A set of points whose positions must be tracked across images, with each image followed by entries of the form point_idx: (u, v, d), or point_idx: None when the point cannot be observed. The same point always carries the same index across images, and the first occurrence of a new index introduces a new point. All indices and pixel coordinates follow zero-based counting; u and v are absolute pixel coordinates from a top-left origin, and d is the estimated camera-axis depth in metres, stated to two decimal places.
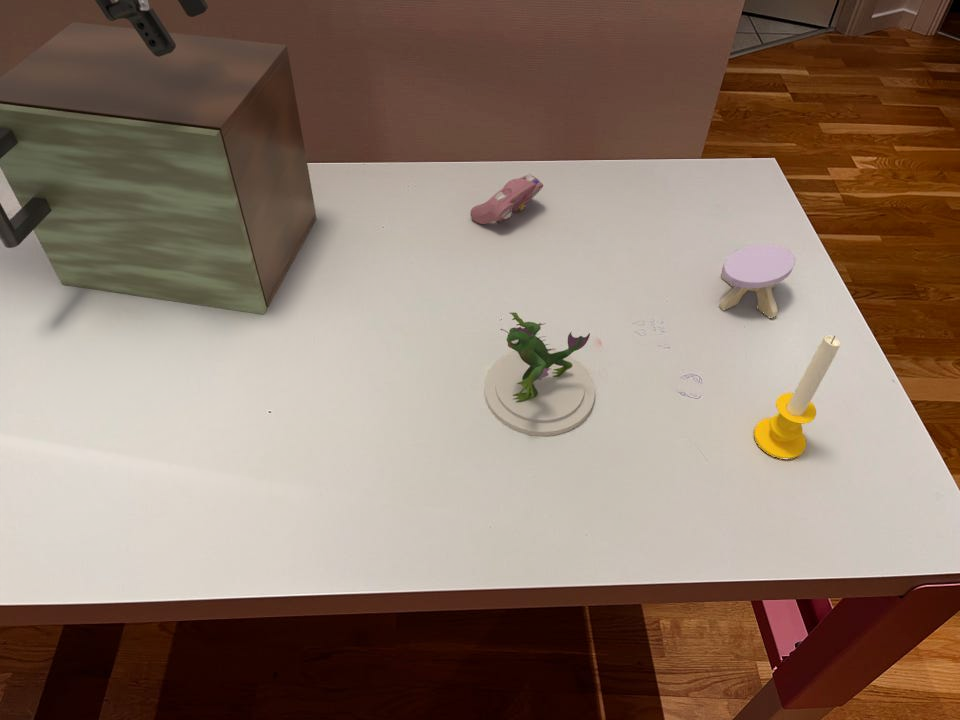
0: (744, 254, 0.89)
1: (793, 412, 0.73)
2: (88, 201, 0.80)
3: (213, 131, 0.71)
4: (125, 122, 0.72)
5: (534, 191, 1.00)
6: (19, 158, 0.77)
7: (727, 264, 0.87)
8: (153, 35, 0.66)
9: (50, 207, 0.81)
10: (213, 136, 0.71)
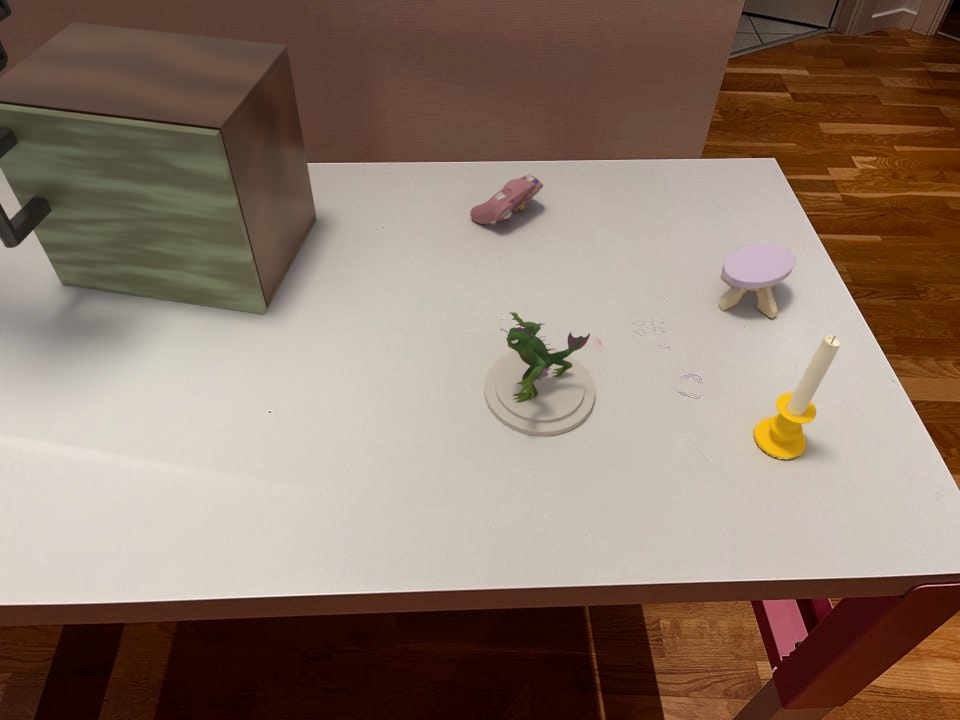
0: (744, 254, 0.89)
1: (793, 412, 0.73)
2: (88, 201, 0.80)
3: (213, 131, 0.71)
4: (125, 122, 0.72)
5: (534, 191, 1.00)
6: (19, 158, 0.77)
7: (727, 264, 0.87)
8: (1, 47, 0.63)
9: (50, 207, 0.81)
10: (213, 136, 0.71)
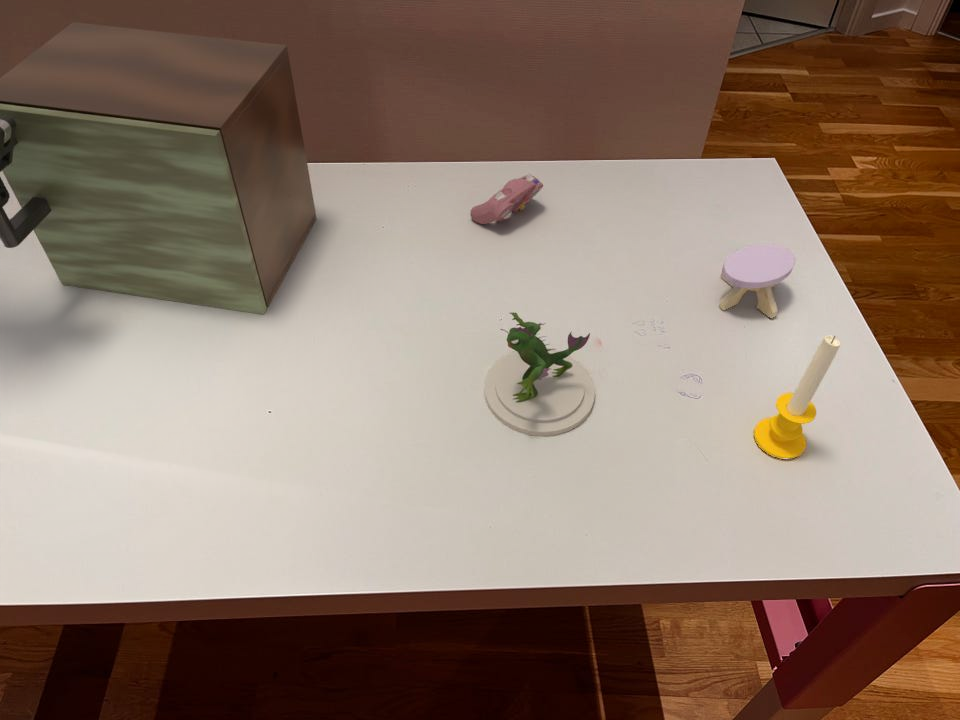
0: (744, 254, 0.89)
1: (793, 412, 0.73)
2: (88, 201, 0.80)
3: (213, 131, 0.71)
4: (125, 122, 0.72)
5: (534, 191, 1.00)
6: (19, 158, 0.77)
7: (727, 264, 0.87)
8: (3, 187, 0.73)
9: (50, 207, 0.81)
10: (213, 136, 0.71)
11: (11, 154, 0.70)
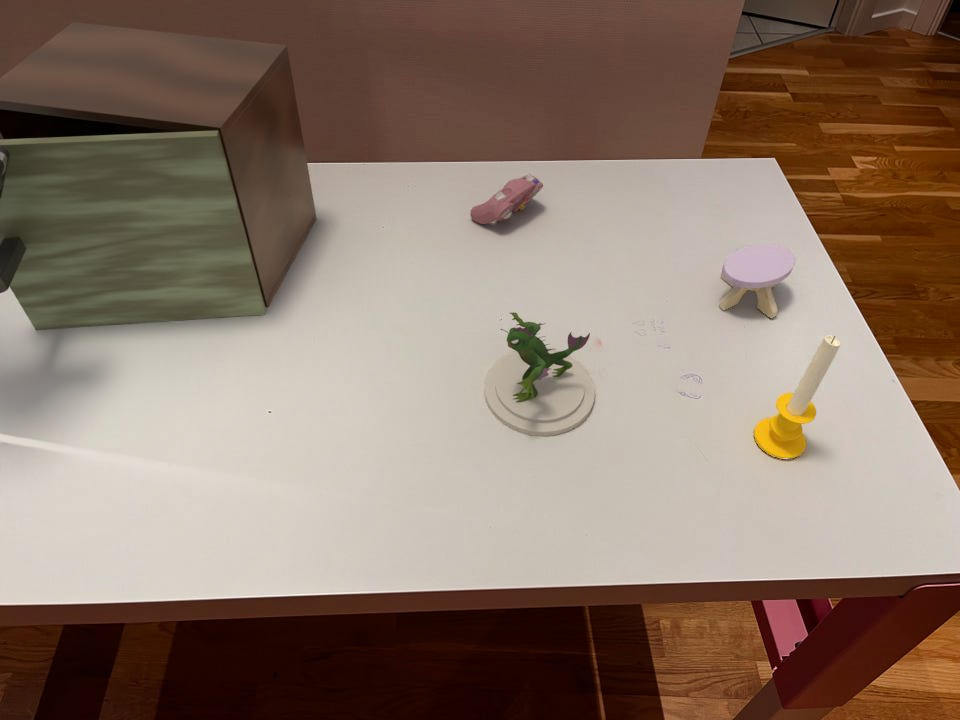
0: (744, 254, 0.89)
1: (793, 412, 0.73)
2: (70, 231, 0.76)
3: (212, 132, 0.71)
4: (115, 138, 0.70)
5: (534, 191, 1.00)
6: None
7: (727, 264, 0.87)
8: None
9: (25, 245, 0.77)
10: (214, 137, 0.70)
11: (2, 189, 0.66)
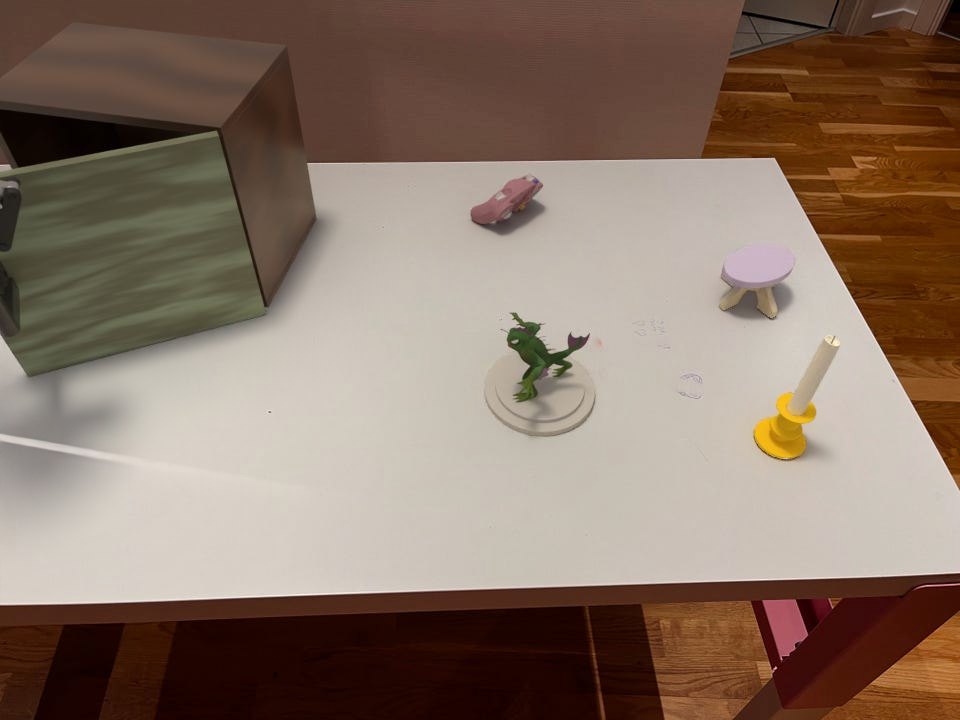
0: (744, 254, 0.89)
1: (793, 412, 0.73)
2: (67, 260, 0.73)
3: (211, 133, 0.71)
4: (114, 153, 0.68)
5: (534, 191, 1.00)
6: None
7: (727, 264, 0.87)
8: (2, 265, 0.65)
9: (17, 285, 0.73)
10: (216, 137, 0.70)
11: None
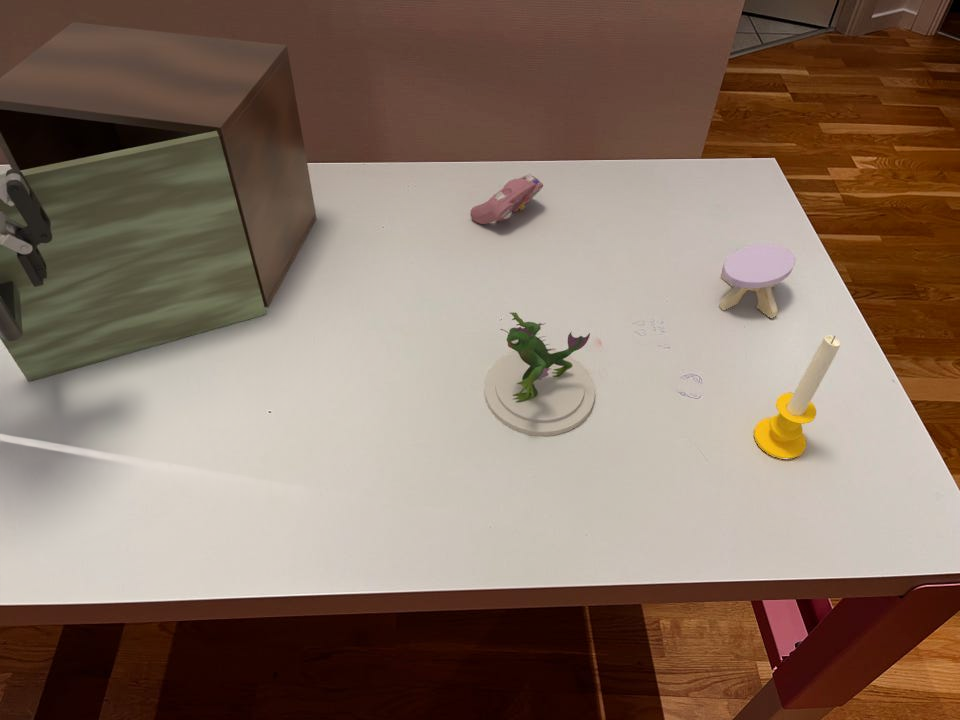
0: (744, 254, 0.89)
1: (793, 412, 0.73)
2: (67, 263, 0.73)
3: (211, 133, 0.71)
4: (114, 154, 0.68)
5: (534, 191, 1.00)
6: None
7: (727, 264, 0.87)
8: (41, 257, 0.66)
9: (18, 289, 0.72)
10: (216, 137, 0.70)
11: (43, 210, 0.63)
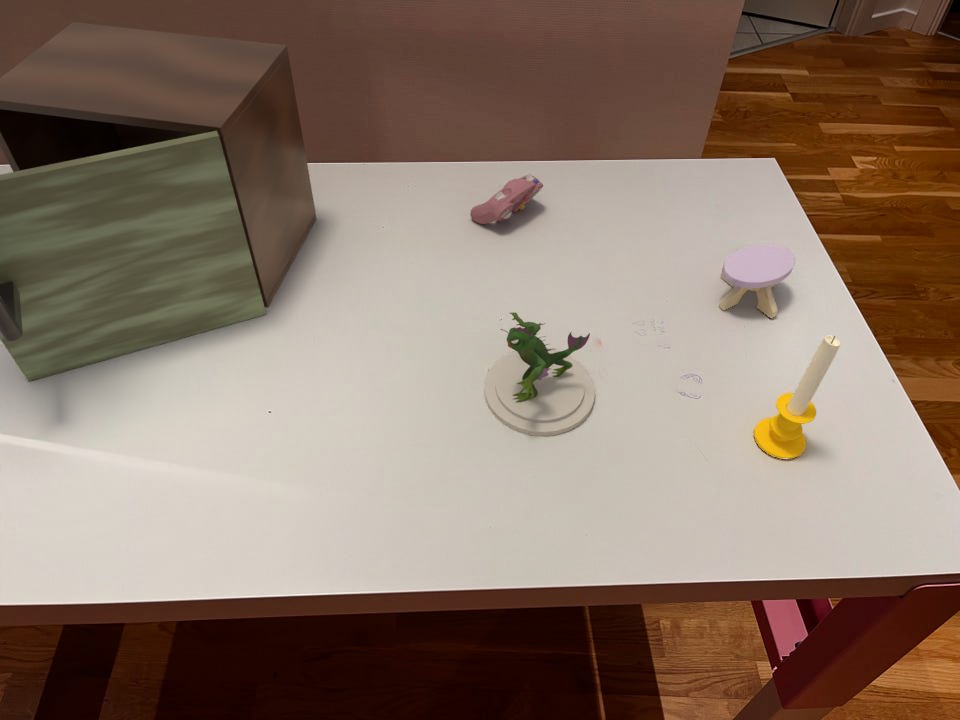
0: (744, 254, 0.89)
1: (793, 412, 0.73)
2: (67, 263, 0.73)
3: (211, 133, 0.71)
4: (114, 154, 0.68)
5: (534, 191, 1.00)
6: None
7: (727, 264, 0.87)
8: None
9: (18, 289, 0.72)
10: (216, 137, 0.70)
11: None
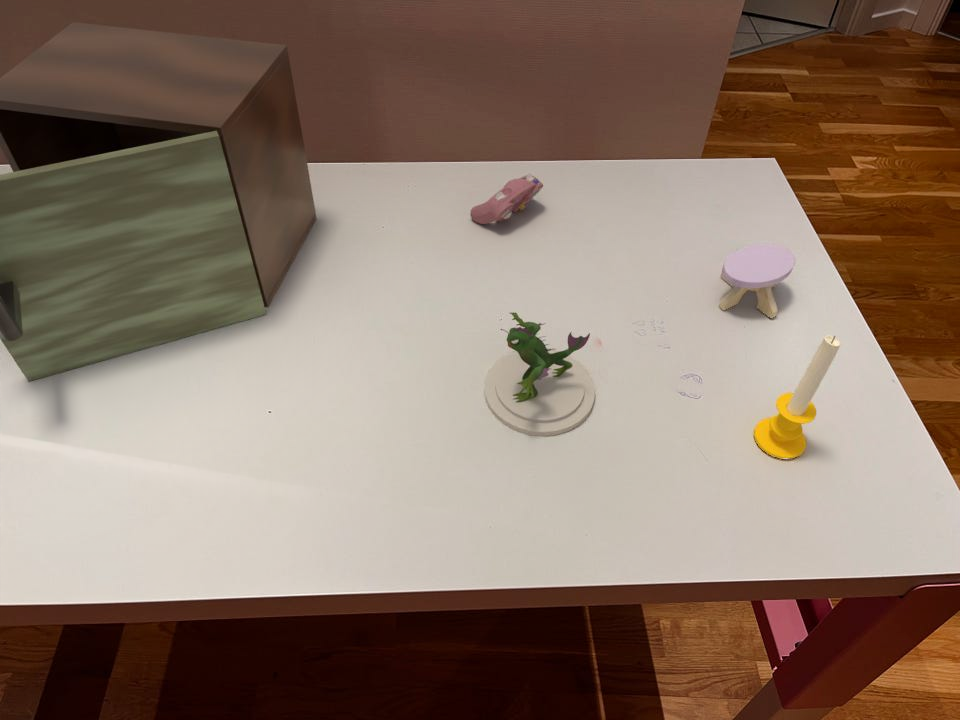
0: (744, 254, 0.89)
1: (793, 412, 0.73)
2: (67, 263, 0.73)
3: (211, 133, 0.71)
4: (114, 154, 0.68)
5: (534, 191, 1.00)
6: None
7: (727, 264, 0.87)
8: None
9: (18, 289, 0.72)
10: (216, 137, 0.70)
11: None
